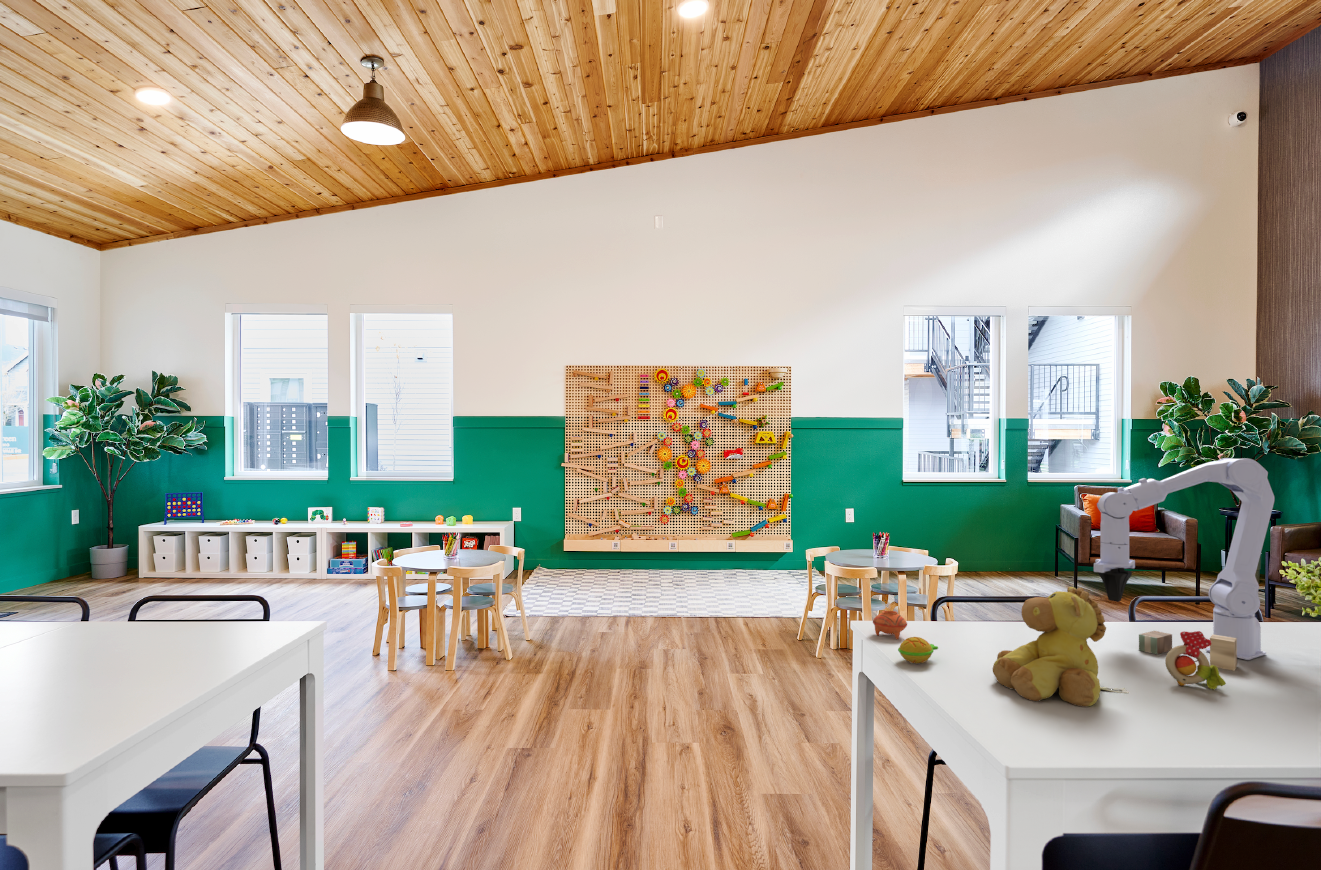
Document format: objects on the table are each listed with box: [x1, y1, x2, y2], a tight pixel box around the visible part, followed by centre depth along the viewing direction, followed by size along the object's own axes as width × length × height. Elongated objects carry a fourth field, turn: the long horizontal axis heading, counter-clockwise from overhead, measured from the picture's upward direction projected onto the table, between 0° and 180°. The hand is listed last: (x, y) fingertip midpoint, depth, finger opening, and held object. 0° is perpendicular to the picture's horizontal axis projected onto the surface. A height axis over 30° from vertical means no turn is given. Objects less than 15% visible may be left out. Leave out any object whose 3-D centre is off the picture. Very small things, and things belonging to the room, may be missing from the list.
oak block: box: [1209, 634, 1238, 671], centre depth 146 cm, size 4×4×6 cm
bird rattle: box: [1164, 630, 1227, 691], centre depth 133 cm, size 6×11×9 cm
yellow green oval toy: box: [897, 636, 939, 665], centre depth 148 cm, size 7×10×5 cm
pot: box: [872, 610, 908, 640], centre depth 167 cm, size 8×8×7 cm
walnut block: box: [1138, 630, 1173, 655], centre depth 157 cm, size 4×4×7 cm
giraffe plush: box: [991, 586, 1129, 708], centre depth 132 cm, size 20×24×19 cm
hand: (1114, 600), depth 162 cm, fingers closed
